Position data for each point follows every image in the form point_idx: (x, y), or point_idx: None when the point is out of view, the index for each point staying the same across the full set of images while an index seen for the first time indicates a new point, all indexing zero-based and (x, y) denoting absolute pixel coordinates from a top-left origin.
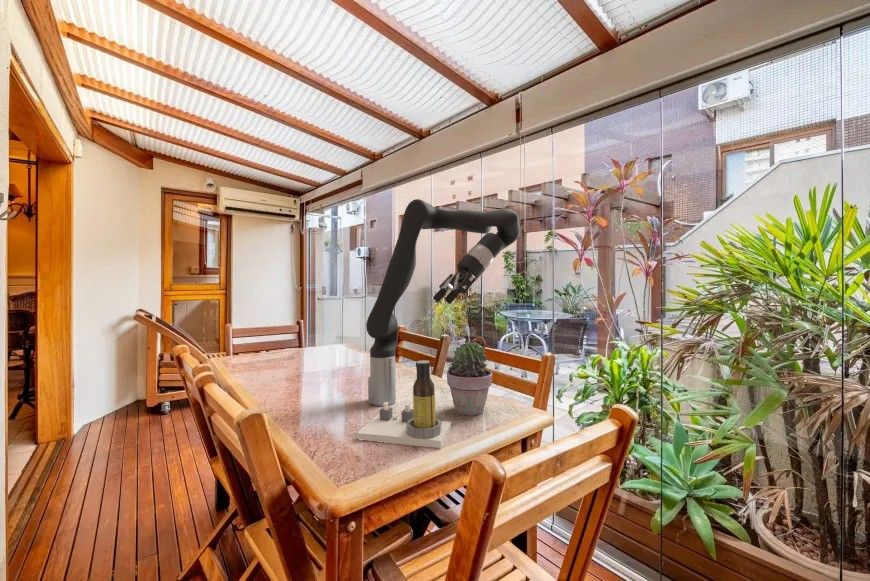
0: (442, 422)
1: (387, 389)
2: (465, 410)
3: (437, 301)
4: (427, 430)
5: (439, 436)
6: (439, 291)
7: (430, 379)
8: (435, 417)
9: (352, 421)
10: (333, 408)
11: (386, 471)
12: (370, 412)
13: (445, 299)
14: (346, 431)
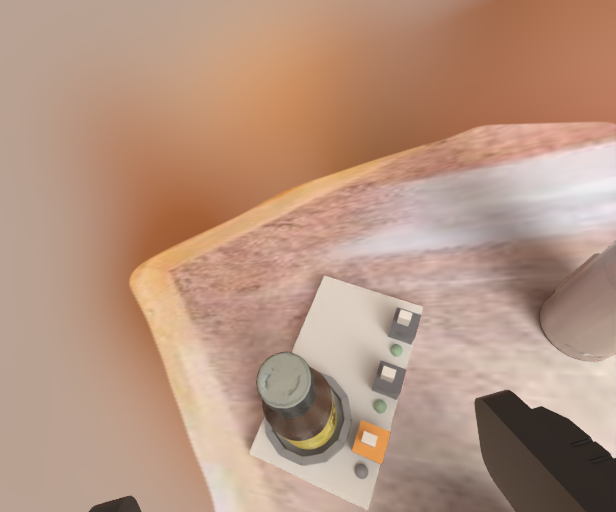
0: (365, 481)
1: (571, 321)
2: None
3: (484, 458)
4: (265, 419)
5: (273, 454)
6: (568, 499)
7: (284, 419)
8: (297, 446)
9: (425, 264)
10: (509, 218)
11: (190, 336)
12: (488, 297)
13: (100, 504)
14: (370, 259)
